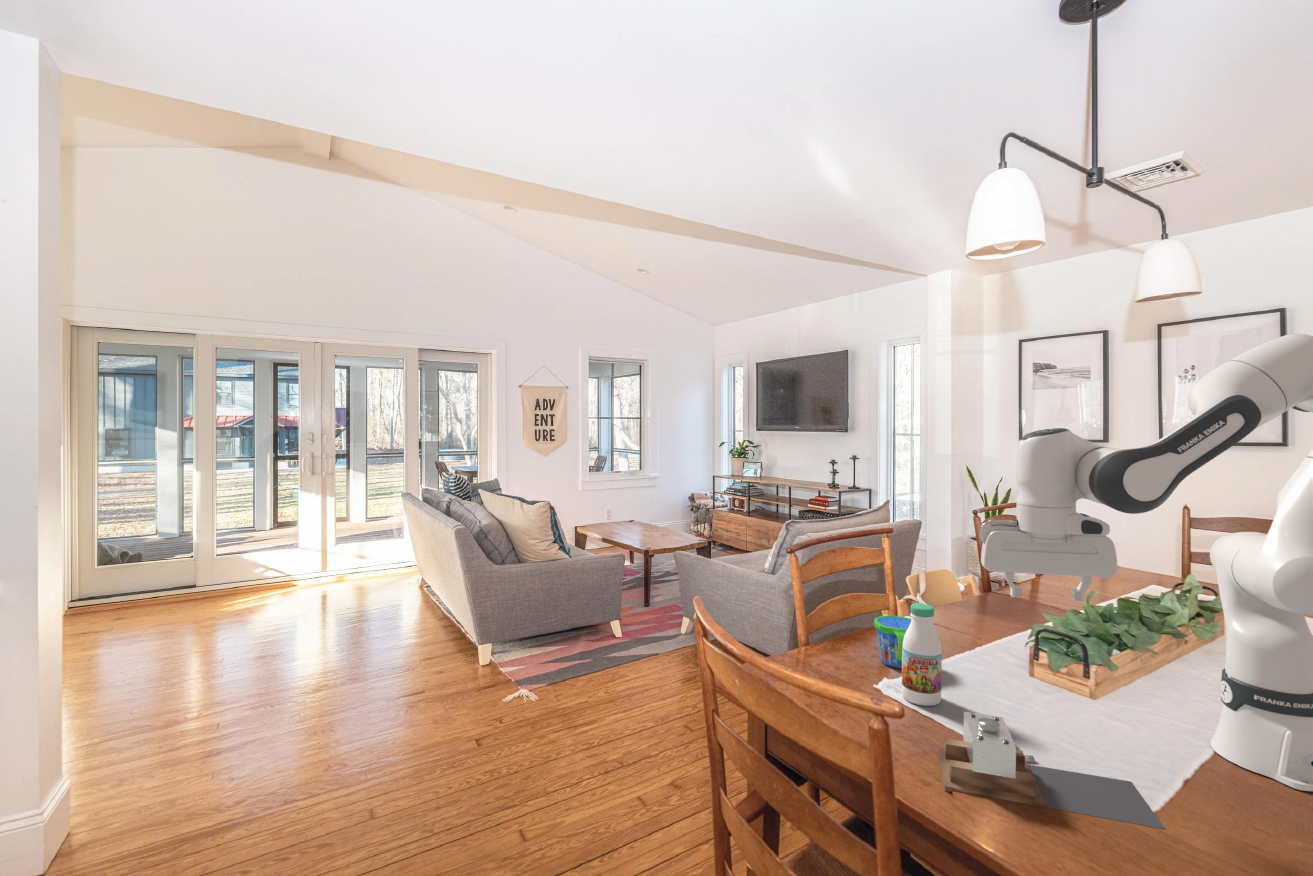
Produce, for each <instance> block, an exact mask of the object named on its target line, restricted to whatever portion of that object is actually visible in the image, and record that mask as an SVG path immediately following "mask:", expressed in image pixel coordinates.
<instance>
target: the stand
mask: <svg viewBox="0 0 1313 876" xmlns="http://www.w3.org/2000/svg"><path fill="white" fill-rule="evenodd" d="M943 740H944V741H943V747H939V746H938V747H936V754H937V758H938V764H939V768H940V772H941V774H940V775H941V779H942V782H943V783H942V784H943V787H944V791H945V792H949V793H953V791H956V792H959V793H966V794H970V795H971V794H972V795H976V796H981V797H988V798H993V799H999V800H1002V801H1003V800H1004V801H1010V802H1015V803H1021V804H1025V805H1030V806H1031V805H1032V806H1035V807H1041V806H1042V808H1046V804H1045V802H1044V799H1043V797H1042V795H1041V793H1040V791H1039V789H1038V786H1037V784H1036V780H1035V778H1034V775H1033V774H1032V773H1031V771H1030V769H1029V767H1028V764H1029V763H1027V762H1025V756H1024V755H1025V754H1024V751H1023V750H1020V749H1016V777H1015V779H1014V778H1008V777H1003V776H997V775H991V774H985V773H980V772H974V771H972V767H971V764H970V760H969V757H968V754H967V750H966V747H965V743H964V740H957V739H952V738H947V737H944V738H943Z"/></svg>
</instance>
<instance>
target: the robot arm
mask: <svg viewBox="0 0 1313 876" xmlns="http://www.w3.org/2000/svg"><path fill="white" fill-rule="evenodd" d="M1187 397H1188V398H1187V401H1188V407H1189V409H1190V410H1189V411H1190V412H1191V413H1192V415H1193V416H1192V417H1191V418H1190V419H1188V420H1187V421H1186V422H1184V423H1182V424H1181V425H1180V426H1178V427H1176V428H1175V429H1174V430H1172V431H1171V432H1169V433H1167V434H1166V435H1164V436H1162V437H1161V438H1160V439H1158V440H1157V441H1155V442H1154V443H1152V444H1149V445H1145V446H1140V447H1136V448H1135V447H1134V448H1115V447H1108V446H1105V445H1102V444H1099V443H1095V442H1092V441H1089V440H1088V439H1086V438H1084V437H1083V438H1082V437H1081V436H1079V435H1076V434H1075V433H1073V432H1072V431H1071V430H1070V429H1069V428H1064V427H1056V428H1055V427H1054V428H1045V429H1040V430H1035V431H1031V432H1028V433H1026V434H1025V435H1024V436H1023V437H1022V438H1020V440H1019V444H1018V447H1017V453H1016V455H1017V456H1016V467H1015V469H1016V471H1015V472H1016V474H1015V480H1016V483H1017V486H1018V495H1017V498H1016V504H1015V505H1016V519H989V520H988V521H986V522H984V523H982V524H981V525H980V527H979V539H980V541H981V542H982V546H981V553H980V563H981V566H982V567H984V569H985V570H986V571H987V572H991V573H993V572H995V573H1002V576H1003V577H1004V580H1006V583H1007V584H1008V585H1009V590H1010V591H1009V592H1010V593H1009V594H1010V596H1011V598H1020V599H1021V598H1022V591H1023V590H1022V587H1021V586H1020V585H1015V584H1014V581H1013V580H1012V579H1015V574H1031V575H1033V574H1035V575H1052V576H1070V577H1071V576H1074V577H1078V580H1079V581H1080V583H1079V584H1078V586H1077V587H1076V588H1070V590H1071V591H1070V592H1071V595H1070V599H1071V600H1072V601H1073V602H1082V603H1083V602H1085V593H1086V592H1087V590H1088V588H1090V586H1091V585H1092V583H1093V578H1094V577H1095V578H1109V579H1110V578H1113V577H1114V576H1115V575H1116V574H1117V573H1118V557H1117V552H1116V551H1117V550H1116V546H1115V544H1114V541H1113V540H1112V539H1111V538H1110V537H1108V535H1109V534H1110V532H1111V528H1110V525H1109V523H1107V522H1106V521H1104V520H1101V519H1099V518H1096V517H1095V516H1091V515H1090V516H1089V515H1088V514H1085V513H1081V512H1080V513H1079V512H1077V502H1078V500H1081V499H1085V500H1088V501H1092V502H1094V503H1098V504H1101V505H1104V506H1106V507H1109V508H1110V509H1113V510H1115V511H1118V512H1121V513H1124V514H1130V515H1131V514H1132V515H1133V514H1135V515H1136V514H1137V515H1138V514H1144V513H1148V512H1150V511H1151V512H1152V511H1153V510H1155V509H1157V508H1159V507H1160V506H1161V505H1163V504H1164V503H1165V502H1166V501H1167V500H1168V499H1169V497H1170V496H1171V495H1172V494H1173V493H1174V492H1175V490H1176V488H1177V487H1178V486H1179V485H1180V484H1181V483H1182V482H1183V480H1185V479H1186V478H1187V477H1189V476H1190V475H1191V474H1192V473H1194V472H1196V471H1198V470H1199V469H1200V468H1201V467H1203V466H1205V465H1206V464H1208V463H1209V462H1210V461H1212V460H1214V459H1216V457H1218V456H1220V455H1221V454H1223V453H1224V452H1226V451H1227V450H1229V449H1231V447H1233V446H1235V445H1236V444H1237V443H1239V442H1240V441H1242V440H1243V439H1245V438H1246V437H1247V436H1248V435H1250V434H1251V433H1252V432H1253V431H1254V430H1256V429H1257V428H1260V427H1261V426H1263V425H1264V424H1266V423H1268V422H1270V421H1271V420H1273V419H1275V418H1276V417H1279V416H1280V415H1282V414H1285V413H1286V412H1287V411H1289V410H1291V409H1293V410H1296V411H1298V412H1303V413H1313V335H1309V334H1304V333H1303V334H1302V333H1292V334H1285V335H1283V336H1278V337H1277V338H1273V339H1271V340H1269V341H1266V342H1263V343H1262V344H1258V345H1257V346H1253V347H1252V348H1250V349H1248V350H1245V351H1244V352H1242V353H1240V354H1238V355H1236V356H1234V357H1232V358H1230V359H1229V360H1227V361H1226V362H1224V363H1222V364H1220V365H1219V366H1217V367H1215V368H1214V369H1212V370H1211V371H1209V372H1208V373H1206V374H1205V375H1203V376H1202V377H1201V378H1199V380H1197V381H1196V382H1195V383H1194V384H1193V385H1192V386H1191V387H1190V388H1189V391H1188V396H1187ZM1275 497H1276V498H1275V503H1276V510H1275V514H1274V516H1273V520H1272V522H1271V525H1270V528H1269V530H1268V532H1267V533H1263V532H1258V531H1239V532H1238V531H1237V532H1231V533H1226V534H1224V535H1223V536H1221V537H1219V538H1218V539H1216V540H1215V541H1214V543H1213V544H1212V546H1211V548H1210V551H1209V561H1210V563H1211V566H1212V567H1213V569H1214V572H1215V576H1216V579H1217V584H1218V592H1219V597H1220V601H1221V602H1220V603H1221V606H1222V611H1223V616H1224V623H1225V663H1224V664H1225V668H1223V669H1222V670H1221V678H1220V700H1221V702H1222V703H1221V708H1220V709H1221V710H1220V715H1219V719H1218V723H1217V725H1216V728H1215V730H1214V734H1213V736H1212V737H1211V740H1210V741H1209V744H1210V747H1211V748H1212V749H1213V751H1215V752H1216V754H1219V755H1220V756H1221V757H1222V758H1224V759H1225V760H1227V761H1229V762H1231V763H1233V764H1236V765H1237V766H1239V767H1240V768H1243V769H1246V770H1248V771H1251V772H1254V773H1256V774H1260V775H1262V776H1266V777H1268V778H1271V779H1272V780H1276V781H1277V782H1279V783H1281V784H1284V785H1287V787H1290V788H1292V789H1295V790H1299V791H1305V792H1313V633H1312V632H1311V629H1310V627H1309V625H1308V621H1307V619H1306V618H1307V617H1306V616H1312V617H1313V448H1311V450H1310V451H1309V452H1308V453H1307V455H1306V456H1305V457H1304V459H1303V460H1301V462H1300V464H1299V465H1298V466H1297V468H1296V469H1295V470H1294V471H1293V473H1292V474H1291V476H1290V477H1289V478H1288V480H1287V481H1286V483H1284V485H1283V486H1282V487H1281V488H1280V490H1279V491H1278V493H1277V495H1276V496H1275Z"/></svg>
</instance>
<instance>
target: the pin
mask: <svg viewBox="0 0 1313 876" xmlns="http://www.w3.org/2000/svg"><path fill="white" fill-rule="evenodd" d="M1024 756H1025V762H1027V764H1035V763H1036V760H1035V757H1034V755H1030V754H1024Z"/></svg>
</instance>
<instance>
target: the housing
mask: <svg viewBox="0 0 1313 876" xmlns="http://www.w3.org/2000/svg"><path fill="white" fill-rule="evenodd" d="M962 736H963V739H962V741H964V743H965V747H966V750H967V754H968V757H969V760H970V764H971V767H972V771H974V772H980V773H985V774H991V775H997V776H1003V777H1008V778H1014V779H1015V777H1016V750H1017V746H1015V744H1014V743H1015V742H1014V739H1013V738H1012V735H1011V732H1010V730H1009V729H1008V726H1007V724H1006V722H1005V719H1004V717H1003V716H996V715H989V714H984V713H977V712H976V713H975V712H969V711H963V734H962Z"/></svg>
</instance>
